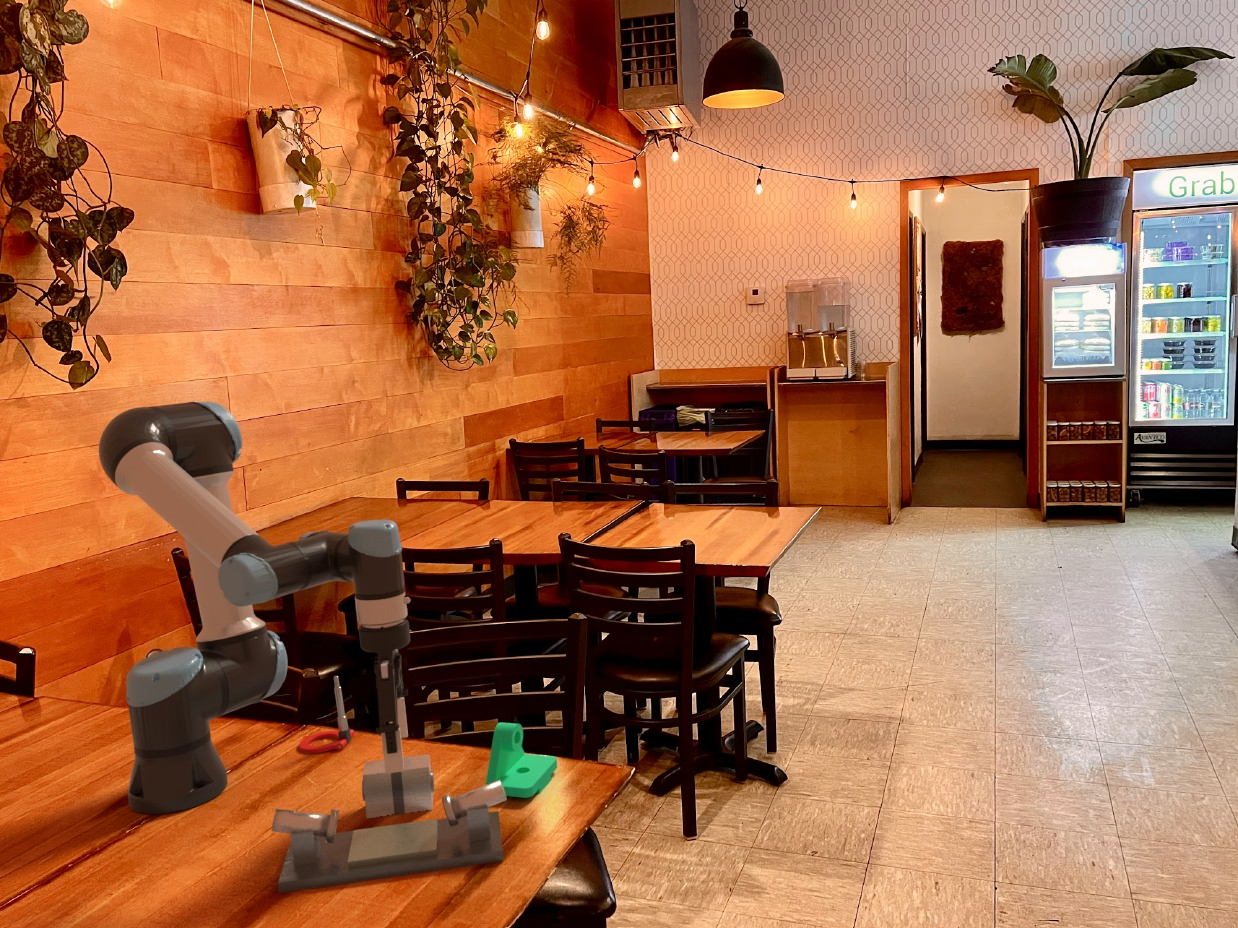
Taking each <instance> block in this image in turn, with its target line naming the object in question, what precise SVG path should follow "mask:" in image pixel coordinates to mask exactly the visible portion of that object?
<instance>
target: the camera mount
mask: <svg viewBox="0 0 1238 928" xmlns="http://www.w3.org/2000/svg"><path fill="white" fill-rule="evenodd" d="M523 740H524V730H523V726H522V725H521V724H520V723H515V722H514V723H511V722H498V723H497V724H496V726H495V728H494V731H493V737H492V744H491V748H490V754H489V761H488V767H487V774H486V779H485V785H487V784H490V783H492V782H495V781H497V780H501V782H502V785H503V787H504V790H505V794H506V797H515V798H525V799H526V798H530V797H533V796H534V795H535V794H541V793H542V792H543V791H544V789H545V788H546V787H547V786H548V785H549V784H550V783H551V782H552V775H553V774H554V772H555V771H556V770H557V769H558V760H557V759H558V758H557V756H553V755H542V754H541V755H540V754H529V753H526V752H525V751H524V748H523ZM545 756H546V757H545Z"/></svg>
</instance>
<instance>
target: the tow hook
mask: <svg viewBox="0 0 1238 928" xmlns="http://www.w3.org/2000/svg"><path fill="white" fill-rule="evenodd" d="M333 681H334V688H333V689H334V695H335V701H336V708H337V709H336V710H337V716H338V717H337V725H338V730H328V731H322V732H318V733H314V734H311V735H309V736H307V737H305V738H304V739H302V740H301V741H300V742H299V744H298V750H299V751H300V752H302V753H307V754H317V753H318V754H319V753H323V752H328V751H330V750H331V751H332V750H337V751H342V750H344V749H345V747H346V746H347V745H348V744H349V743H350V742H351V741H352V738H353V737H354V735H355V733H354V732H355V730H354V729H351V728H350V727H349V724H348V718H347V715H346V712H345V708H344V707H345V706H344V700H343V692H342V686H341V685H340V681H339V676H338V675H334V676H333ZM327 738H328V739H329V738H334V739H337V740H333V741H332V742H329V743H326V744H321V745H310V744H311V743H313V742H316V741H318V740H321V739H327Z"/></svg>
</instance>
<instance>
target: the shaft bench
mask: <svg viewBox="0 0 1238 928" xmlns="http://www.w3.org/2000/svg"><path fill="white" fill-rule="evenodd" d="M507 797H508V796H506V794H505V790H504V787H503V785H502V782H501V780H497V781H495V782H492V783H490V784H487V785H486V784H484V785H482V786H480V787H478V788H474V789H472V790H470V791H467V792H464V793H462V794H460V795H459V794H458V796H454V797H452V795H451V794H450V793H448V794H446V795H442V797H441V801H442V807H443V810H444V811H443V812H444V813H445V816H446V818H445V817H444V818H434V819H426V820H421V821H412V822H405V823H404V822H403V823H398V824H397V823H396V824H390V825H381V826H375V827H369V828H362V829H361V828H360V829H355V830H349V831H343V832H336V830H337V826H338V820H339V814H340V810H339V809H334V808H333V809H331V812H330V814H328V813H326V814H325V813H318V812H309V811H300V810H293V809H292V810H291V809H281V808H276V809H275V812H274V815H273V820H272V825H271V833H272V832H273V833H282V834H289V835H290V839H291V840H290V843H289V847H288V850H287V853H286V856H285V859H284V863H283V866H282V868H281V873H280V875H279V877H278V882H277V886H278V887H277V888H278V893H279V894H285V893H290V892H291V893H292V892H298V891H304V890H310V889H317V888H325V887H331V886H333V887H334V886H340V885H345V884H352V883H353V884H354V883H359V882H366V881H367V882H368V881H374V880H380V879H381V880H382V879H387V878H394V877H401V876H408V875H415V874H416V875H417V874H423V873H428V872H436V871H443V870H451V869H457V868H462V867H464V868H465V867H471V866H477V865H484V864H493V863H499V862H504V853H503V852H504V849H503V843H502V842H503V841H502V832H501V824H500V823H501V821H500V812H499V810H496V811H489V807H492V806H495V805H498V804H501V803H502V802H505V801H507V799H508V798H507Z"/></svg>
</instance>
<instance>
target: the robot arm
mask: <svg viewBox="0 0 1238 928" xmlns="http://www.w3.org/2000/svg"><path fill="white" fill-rule="evenodd" d="M242 448H243V436H242V432H241V428H240V426H239V423H238V422H237V420H236V419H235V417H234V416H233V414H232V412H230V410H228V409H226V408H225V407H224V406H223V405H222V404H219V403H217V402H214V401H188V402H180V403H172V404H163V405H155V406H154V405H153V406H142V407H141V406H140V407H133V408H130V409H127V410H125V411H122V412H121V413H119V414H117V415H116V416H114V418H112V420H110V421H109V422H108V424H107V425H106V426H105V428H104V429H103V431H102V433H101V436H100V439H99V444H98V458H99V461H100V465H101V466H102V467H101V468H102V470H103V471H104V474H105V475H106V476H107V478H108V479H109V480H110V481H111V483H112V484H114V485H115V486H116V487H117V488H118V489H119V490H120V491H122V492H123V493H124V494H127V495H131V496H137V497H138V498H140V500H142V501H143V502H144V503H145V504H146V505H147V506H148V507H150V509H152V510H153V512H155V513H156V514H157V515H158V516H160V518H162V519H163V520H164V521H165V522H166V523H167V524H169V526H171V527H172V528H173V529H174V530H176V532H177V533H178V534H180V535H181V536H182V537H183V538H184V543H185V544H184V545H185V549H186V553H187V557H188V558H187V559H188V562H189V566H190V571H191V572H190V573H191V576H192V577H191V578H192V581H193V586H194V590H195V596H196V600H197V604H198V609H199V610H198V611H199V614H200V618H201V619H200V620H201V624H202V629H201V631H200V632H199V634H198V635H197V637H195V638H196V639H195V641H196V646H197V648H196V647H193V646H192V647H191V646H181V647H175V648H172V649H170V650H167V649H165V650H163V651H162V650H161V651H159V652H157V653H153V654H152V655H148V656H146V657H144V658H143V659H141V660H140V661H137V663H135V664H134V665H133V666H132V667H131V668H130V670H129V671H128V673H127V675H126V679H125V680H126V681H125V682H126V685H125V686H126V694H125V699H126V702H127V706H128V711H129V712H128V714H129V719H130V720H129V721H130V727H131V735H132V743H133V749H134V750H133V751H134V761H133V767H132V769H131V775H130V779H129V784H128V789H127V799H128V806H129V808H130V809H131V810H133V811H135V812H136V813H140V814H145V815H159V814H160V815H162V814H163V815H164V814H168V813H176V812H181V811H185V810H188V809H191V808H194V807H196V806H199V805H203V804H205V803H206V802H209V801H210V800H213V799H214V798H216V797H217V796H219V795H220V794H222V793H223V792H224V790H225V789H226V788H227V787H228V774H227V768H226V767H225V765H224V762H223V761H222V759H221V757H220V755H219V753H218V751H217V749H216V747H215V745H214V743H213V741H212V736H211V727H210V726H211V725H210V721H211V720H214V719H216V718H217V719H218V718H220V717H221V716H222V717H223V716H224V715H226V714H229V713H231V712H234V711H237V710H239V709H241V708H245V707H247V706H249V705H252V704H257V703H260V702H261V701H262V700H263V699H266V698H268V697H270V696H272V695H274V694H275V693H277V692H278V691H279V690H280V688H281V687H282V686H283V683H284V682H285V680H286V677H287V672H288V665H289V664H288V655H287V651H286V647H285V645H284V643H283V642H284V641H283V642H282V641H280V636H278V634H276V633H275V632H274V631H272V630H268V629H267V626H266V622H265V621H264V620H262V619H260V618H259V617H257V616H256V614H255V613H254V608H253V605H257V604H258V605H259V604H260V605H261V604H262V603H266V602H268V601H271V600H274V599H277V598H281V597H283V596H287V595H289V594H293V593H296V592H299V591H303V590H307V589H310V588H314V587H317V586H319V585H320V586H321V585H323V584H326V583H329V582H330V583H331V582H336V581H337V582H348V583H353V585H354V601H355V611H356V620H357V622H358V624H360V625H359V627H358V633H359V634H358V636H359V644H360V648H361V650H362V651H365V652H366V653H374V654H375V653H376V654H377V656H374V661H373V671H374V674H375V686H376V689H377V690H376V691H377V702H378V705H377V706H378V718H379V719H378V723H379V727H375V733H376V734H381V743H382V753H383V760H384V764H385V773H386V774H388V773H395V772H402V771H404V762H403V757H404V753H403V742H402V739H403V738H404V739H405V738H408V737H409V733H408V723H407V713H406V704H405V696H409V691H408V690H409V689H408V687H407V688H404V686H405V682H403V681H404V680H403V673H402V672H403V671H402V655H401V653H399V650H400V649H402V648H405V647H407V646H408V645H409V644H410V642H411V634H410V622H409V620H408V619H407V616H408V608H407V607H408V606H407V604H411V603H410V602H411V598H410V597H409V596H406V586H405V575H404V564H403V563H404V562H403V552H402V551H403V544H402V543H401V542H402V541H401V538H400V537H401V536H400V531H399V527H398V523H396V522H395V521H393V520H392V519H391V520H390V519H369V520H363V521H358V522H356V523H353V524H350V526H349V527H348V532H347V533H346V532H335V531H334V532H333V531H328V530H319V531H309V532H306V533H305V534H302V536H300V537H299V538H298V539H297V540H293V541H289V542H284V543H280V544H277V545H273V544H270V542H268V541H267V540H266V539H265V538H264V537H262V536H261V535H260V534H258V533H257V532H256V531H255V530H254V529H253V528H252V527H251V526H249V525H248V524H247V523H246V522H245V521H243V519H241V518H240V516H239V517H238V515H237V514H235V513H234V512H233V506H232V502H231V497H230V492H229V487H228V483H229V481H230V479H231V478H232V477H233V475H234V474H235V470H234V463H235V462H236V461H238V459H239V458H240V456H241V455H242V451H241V449H242ZM405 596H406V597H405Z"/></svg>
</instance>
